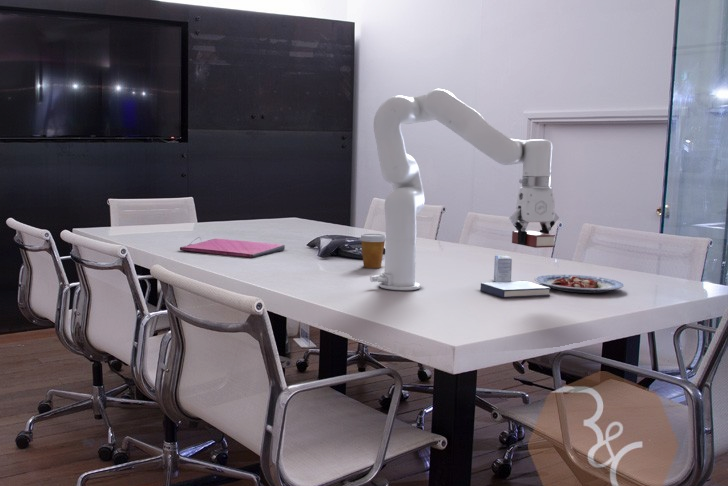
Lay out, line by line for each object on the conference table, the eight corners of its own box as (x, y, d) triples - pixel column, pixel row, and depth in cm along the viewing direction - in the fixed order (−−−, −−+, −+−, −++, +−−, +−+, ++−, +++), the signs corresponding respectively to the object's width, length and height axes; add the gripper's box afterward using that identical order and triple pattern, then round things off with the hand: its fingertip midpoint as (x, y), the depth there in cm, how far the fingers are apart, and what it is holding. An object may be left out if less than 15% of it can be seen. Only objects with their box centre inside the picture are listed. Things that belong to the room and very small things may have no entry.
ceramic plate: (516, 283, 250) (517, 274, 250) (576, 279, 260) (577, 270, 259) (579, 298, 227) (580, 288, 226) (642, 292, 236) (643, 283, 236)
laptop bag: (285, 241, 327) (252, 249, 305) (285, 250, 328) (252, 259, 305) (208, 234, 349) (172, 241, 326) (208, 243, 349) (172, 251, 327)
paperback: (535, 247, 217) (535, 235, 216) (511, 242, 227) (512, 231, 227) (554, 247, 218) (555, 234, 218) (530, 242, 229) (531, 230, 229)
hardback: (503, 298, 227) (503, 290, 226) (480, 290, 238) (480, 282, 238) (549, 295, 230) (550, 287, 230) (525, 288, 242) (525, 280, 242)
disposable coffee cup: (389, 266, 286) (390, 234, 284) (379, 269, 278) (380, 237, 276) (365, 264, 291) (365, 232, 289) (355, 267, 283) (355, 235, 281)
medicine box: (511, 285, 248) (512, 258, 247) (496, 284, 249) (498, 258, 248) (507, 281, 256) (508, 255, 255) (493, 280, 257) (494, 254, 256)
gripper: (517, 183, 215) (514, 246, 217) (570, 183, 219) (567, 245, 221) (501, 182, 222) (499, 243, 224) (553, 181, 226) (550, 241, 229)
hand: (532, 243), depth 223 cm, fingers closed on paperback, 6 cm apart
